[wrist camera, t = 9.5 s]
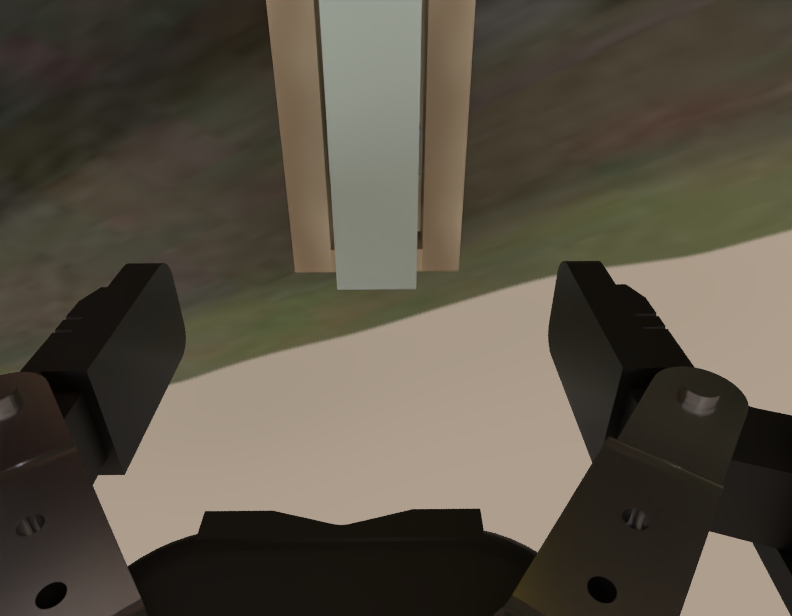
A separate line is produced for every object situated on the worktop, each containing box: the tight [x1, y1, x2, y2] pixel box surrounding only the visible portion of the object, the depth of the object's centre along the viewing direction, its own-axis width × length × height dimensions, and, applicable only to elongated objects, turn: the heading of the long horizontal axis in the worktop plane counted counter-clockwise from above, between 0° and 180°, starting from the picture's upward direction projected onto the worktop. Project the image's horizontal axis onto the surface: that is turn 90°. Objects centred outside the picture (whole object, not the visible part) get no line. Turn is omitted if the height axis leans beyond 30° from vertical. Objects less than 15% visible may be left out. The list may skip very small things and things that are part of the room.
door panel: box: [319, 0, 422, 290], centre depth 23 cm, size 3×10×8 cm, turn 0°
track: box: [266, 0, 476, 272], centre depth 26 cm, size 8×15×3 cm, turn 0°
